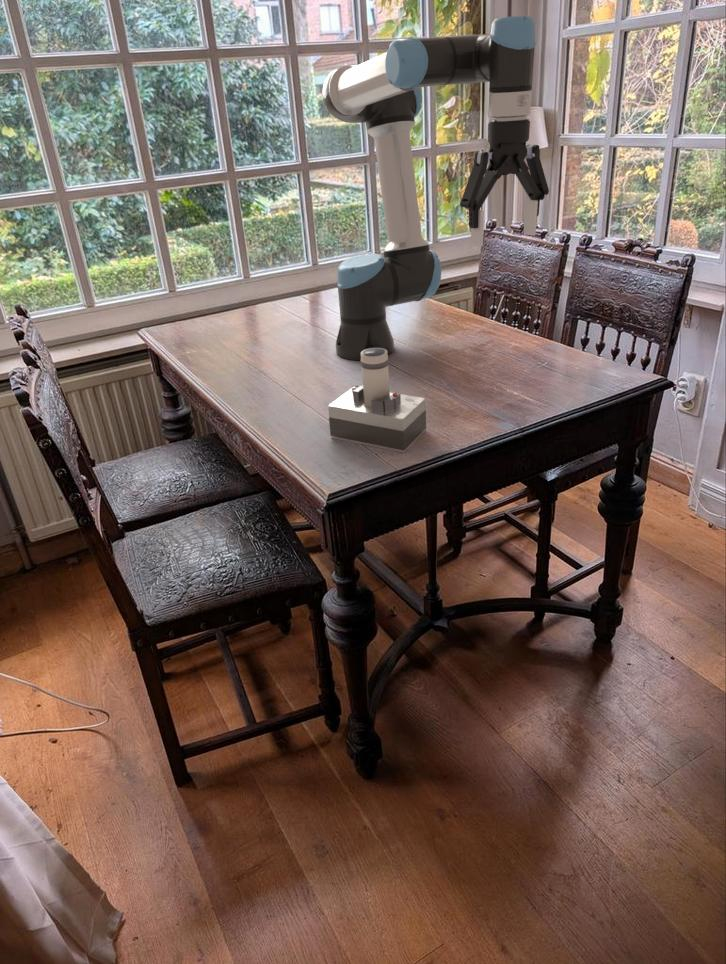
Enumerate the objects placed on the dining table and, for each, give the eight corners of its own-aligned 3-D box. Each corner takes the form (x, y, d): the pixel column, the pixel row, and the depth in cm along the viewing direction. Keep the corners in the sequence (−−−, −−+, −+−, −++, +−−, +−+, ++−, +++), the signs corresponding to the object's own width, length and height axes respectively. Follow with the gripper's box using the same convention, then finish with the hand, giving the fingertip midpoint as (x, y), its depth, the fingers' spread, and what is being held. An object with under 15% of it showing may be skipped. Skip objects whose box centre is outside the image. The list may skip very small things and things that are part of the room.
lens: (372, 409, 128) (369, 359, 123) (358, 400, 132) (354, 351, 127) (395, 402, 131) (393, 352, 125) (381, 393, 134) (378, 344, 129)
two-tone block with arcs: (330, 437, 135) (326, 393, 130) (355, 417, 142) (352, 374, 137) (403, 452, 128) (402, 406, 123) (426, 430, 135) (425, 386, 130)
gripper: (468, 125, 116) (465, 253, 127) (574, 113, 126) (563, 232, 137) (441, 124, 122) (441, 247, 132) (545, 113, 132) (537, 227, 143)
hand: (503, 240), depth 135 cm, fingers open, 13 cm apart
